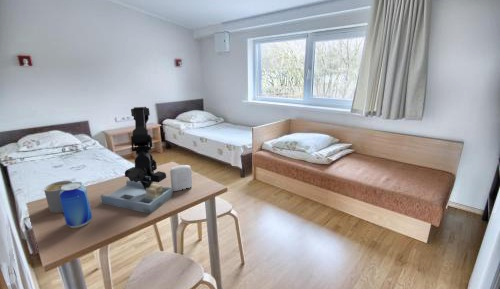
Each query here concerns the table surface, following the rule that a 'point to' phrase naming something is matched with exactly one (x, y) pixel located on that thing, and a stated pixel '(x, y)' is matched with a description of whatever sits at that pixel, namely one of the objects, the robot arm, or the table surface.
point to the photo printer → (181, 177)
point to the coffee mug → (54, 196)
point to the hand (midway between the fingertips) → (147, 191)
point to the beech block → (154, 190)
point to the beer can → (75, 204)
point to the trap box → (136, 198)
